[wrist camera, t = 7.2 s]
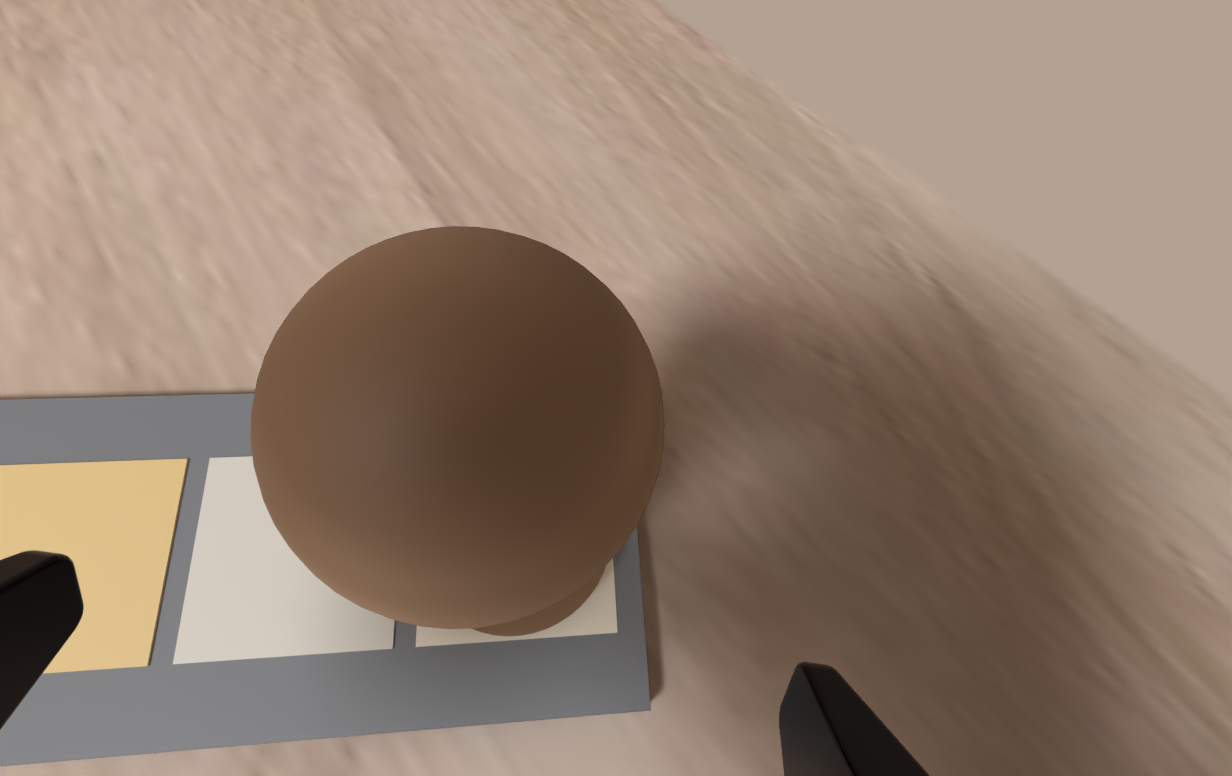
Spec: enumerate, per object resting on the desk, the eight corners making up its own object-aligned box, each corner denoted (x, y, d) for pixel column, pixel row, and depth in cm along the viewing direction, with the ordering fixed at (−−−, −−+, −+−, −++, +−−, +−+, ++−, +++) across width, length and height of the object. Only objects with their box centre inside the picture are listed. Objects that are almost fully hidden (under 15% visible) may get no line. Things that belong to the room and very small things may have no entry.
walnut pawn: (634, 592, 17) (826, 513, 5) (454, 667, 15) (160, 788, 4) (572, 427, 18) (607, 72, 7) (403, 484, 17) (85, 181, 5)
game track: (623, 393, 20) (626, 383, 19) (646, 706, 16) (651, 710, 16) (-236, 416, 17) (-276, 405, 16) (-412, 796, 14) (-473, 807, 13)
